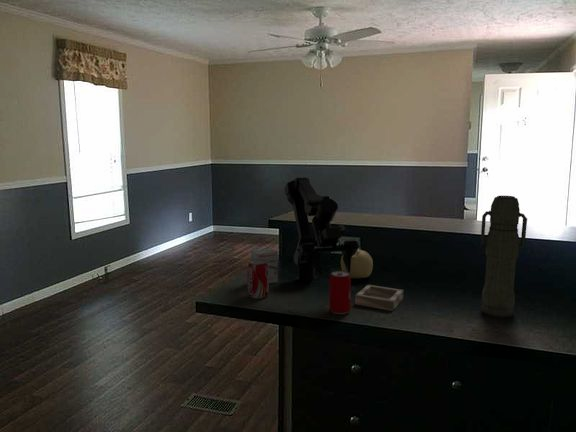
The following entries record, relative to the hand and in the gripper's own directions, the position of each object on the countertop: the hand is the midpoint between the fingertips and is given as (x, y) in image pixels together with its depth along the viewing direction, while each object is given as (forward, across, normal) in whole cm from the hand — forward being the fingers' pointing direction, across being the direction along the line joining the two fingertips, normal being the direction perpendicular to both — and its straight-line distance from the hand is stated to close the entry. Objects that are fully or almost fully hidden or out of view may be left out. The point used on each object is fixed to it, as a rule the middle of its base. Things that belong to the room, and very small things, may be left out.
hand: (335, 273), depth 145 cm
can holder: (+7, +16, +8) cm, 19 cm away
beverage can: (+11, 0, +5) cm, 12 cm away
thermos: (+20, +46, -4) cm, 50 cm away
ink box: (-14, -16, +29) cm, 36 cm away
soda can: (-4, -21, +19) cm, 29 cm away
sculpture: (-12, +19, +27) cm, 35 cm away
